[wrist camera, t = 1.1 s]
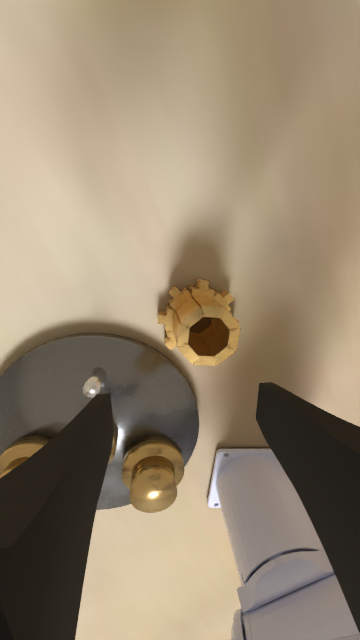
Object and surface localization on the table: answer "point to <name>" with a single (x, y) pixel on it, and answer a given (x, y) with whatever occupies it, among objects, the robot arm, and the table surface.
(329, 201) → the table surface
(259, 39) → the table surface
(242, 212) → the table surface
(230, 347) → the planet gear
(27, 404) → the carrier
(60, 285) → the table surface
